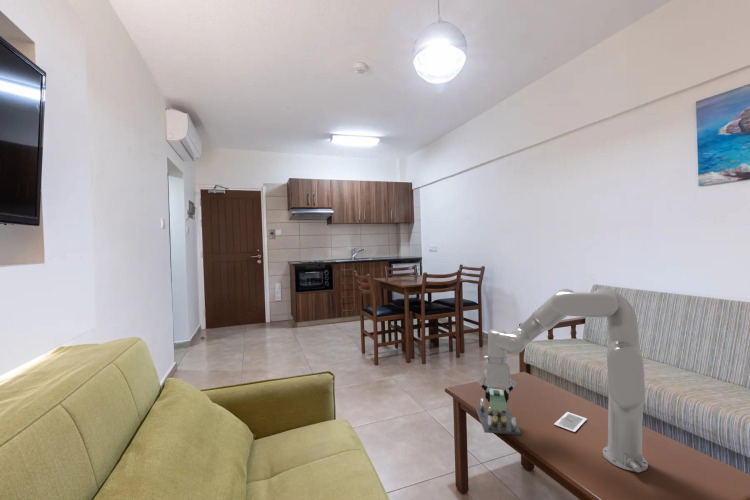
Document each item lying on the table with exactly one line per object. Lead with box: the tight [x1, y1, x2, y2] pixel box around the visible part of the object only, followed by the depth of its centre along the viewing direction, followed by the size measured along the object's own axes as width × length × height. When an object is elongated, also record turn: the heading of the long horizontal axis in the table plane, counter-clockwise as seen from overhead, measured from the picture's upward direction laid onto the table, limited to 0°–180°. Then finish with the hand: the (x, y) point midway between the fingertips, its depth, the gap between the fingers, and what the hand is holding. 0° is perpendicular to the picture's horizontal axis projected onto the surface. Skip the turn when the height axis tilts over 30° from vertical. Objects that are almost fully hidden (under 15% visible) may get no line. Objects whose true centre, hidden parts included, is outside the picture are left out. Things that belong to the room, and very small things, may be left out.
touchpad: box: [553, 411, 588, 433], centre depth 140 cm, size 8×15×2 cm, turn 131°
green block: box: [488, 388, 507, 411], centre depth 141 cm, size 12×6×4 cm, turn 165°
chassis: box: [476, 397, 522, 435], centre depth 141 cm, size 18×14×6 cm
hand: (496, 400), depth 141 cm, fingers closed on green block, 6 cm apart
